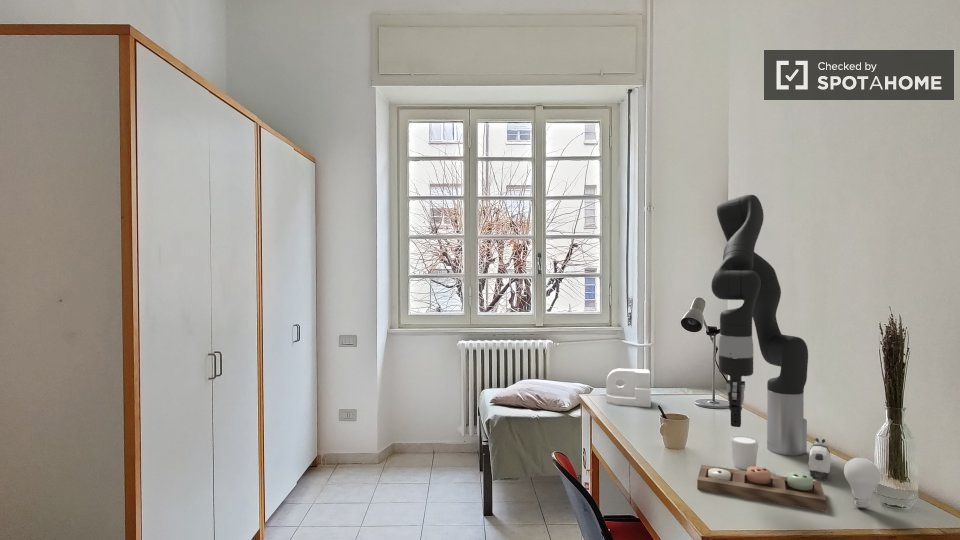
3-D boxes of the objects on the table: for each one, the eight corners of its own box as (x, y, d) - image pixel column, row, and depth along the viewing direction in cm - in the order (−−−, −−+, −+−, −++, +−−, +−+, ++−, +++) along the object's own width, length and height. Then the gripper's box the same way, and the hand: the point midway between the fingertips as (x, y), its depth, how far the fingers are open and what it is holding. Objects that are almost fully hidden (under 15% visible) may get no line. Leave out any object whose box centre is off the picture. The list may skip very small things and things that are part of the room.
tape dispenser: (648, 401, 218) (648, 369, 218) (650, 408, 208) (650, 374, 208) (606, 399, 222) (606, 367, 221) (606, 406, 211) (606, 373, 211)
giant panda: (830, 482, 138) (830, 449, 138) (808, 478, 141) (808, 446, 140) (830, 467, 148) (831, 436, 148) (810, 463, 151) (810, 433, 151)
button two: (811, 483, 130) (811, 473, 130) (813, 491, 126) (813, 481, 126) (787, 480, 132) (787, 470, 132) (788, 487, 128) (788, 477, 128)
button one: (731, 479, 138) (731, 469, 138) (730, 486, 133) (730, 476, 133) (709, 475, 140) (709, 466, 140) (707, 483, 135) (707, 473, 135)
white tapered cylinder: (746, 472, 145) (746, 445, 145) (724, 464, 151) (724, 438, 151) (764, 468, 148) (764, 441, 148) (741, 459, 154) (741, 434, 154)
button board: (820, 492, 132) (820, 482, 132) (825, 511, 122) (825, 499, 122) (701, 474, 143) (701, 464, 143) (697, 490, 134) (697, 479, 133)
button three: (770, 477, 134) (770, 467, 134) (770, 485, 129) (770, 474, 129) (746, 474, 136) (747, 464, 136) (746, 481, 132) (746, 471, 132)
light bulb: (836, 502, 127) (836, 453, 126) (864, 501, 127) (864, 452, 127) (858, 515, 120) (859, 464, 120) (887, 514, 120) (888, 463, 120)
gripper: (721, 348, 142) (721, 417, 143) (716, 357, 131) (716, 431, 131) (754, 350, 139) (754, 420, 139) (752, 359, 127) (752, 436, 127)
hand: (735, 426), depth 135 cm, fingers closed
